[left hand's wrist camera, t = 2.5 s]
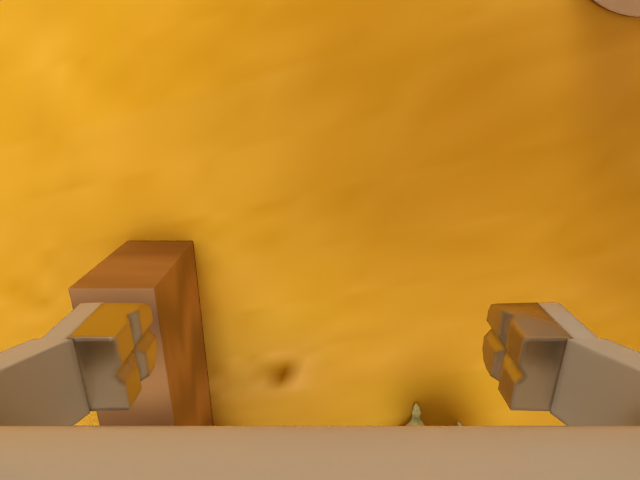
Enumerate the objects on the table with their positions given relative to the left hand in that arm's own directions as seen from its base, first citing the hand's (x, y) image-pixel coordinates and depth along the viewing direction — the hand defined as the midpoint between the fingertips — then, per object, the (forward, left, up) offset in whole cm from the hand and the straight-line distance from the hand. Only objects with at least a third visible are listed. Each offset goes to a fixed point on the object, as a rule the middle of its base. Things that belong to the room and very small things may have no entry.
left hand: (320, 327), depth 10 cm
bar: (+23, +4, -26) cm, 35 cm away
